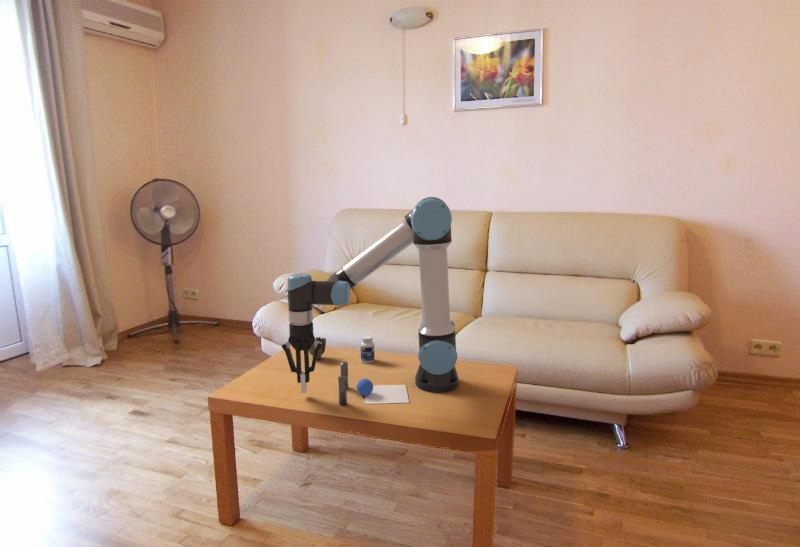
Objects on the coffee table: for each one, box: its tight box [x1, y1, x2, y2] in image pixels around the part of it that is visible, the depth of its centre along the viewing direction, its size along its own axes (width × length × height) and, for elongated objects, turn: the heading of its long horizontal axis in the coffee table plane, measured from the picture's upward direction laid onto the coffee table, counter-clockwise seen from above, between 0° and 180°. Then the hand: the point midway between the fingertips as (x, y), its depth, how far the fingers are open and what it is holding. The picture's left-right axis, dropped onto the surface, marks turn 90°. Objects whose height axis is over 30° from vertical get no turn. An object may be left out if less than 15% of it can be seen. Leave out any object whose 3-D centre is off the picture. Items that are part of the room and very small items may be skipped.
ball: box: [356, 378, 374, 397], centre depth 168 cm, size 6×6×6 cm
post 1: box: [339, 361, 349, 390], centre depth 173 cm, size 2×2×9 cm
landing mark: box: [364, 384, 410, 405], centre depth 169 cm, size 14×14×1 cm
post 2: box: [337, 375, 348, 406], centre depth 161 cm, size 2×2×9 cm
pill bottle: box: [360, 335, 375, 364], centre depth 199 cm, size 5×5×10 cm
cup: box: [309, 336, 327, 361], centre depth 201 cm, size 8×7×8 cm
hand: (303, 391), depth 167 cm, fingers closed
